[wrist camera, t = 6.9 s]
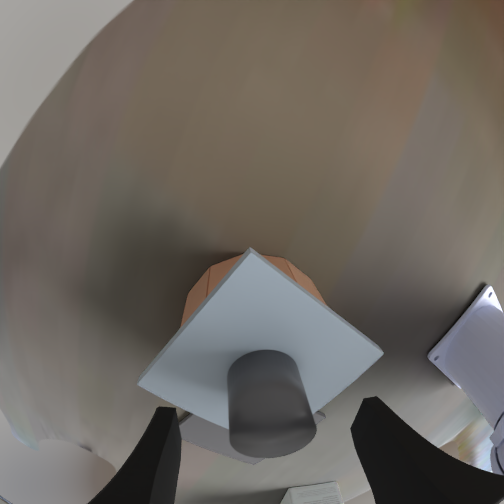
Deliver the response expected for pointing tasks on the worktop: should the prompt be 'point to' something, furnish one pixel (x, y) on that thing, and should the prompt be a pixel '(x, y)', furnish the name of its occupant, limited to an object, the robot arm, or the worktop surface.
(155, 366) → the lid
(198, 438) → the mat
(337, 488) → the small box
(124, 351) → the worktop surface
